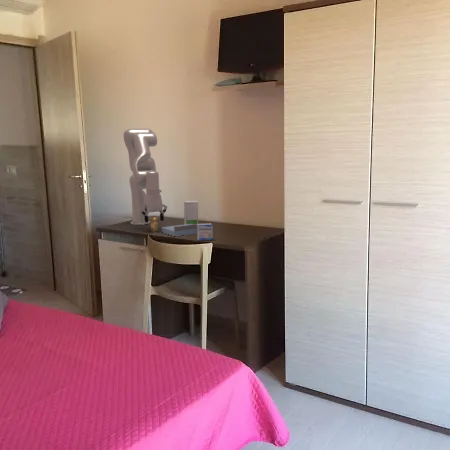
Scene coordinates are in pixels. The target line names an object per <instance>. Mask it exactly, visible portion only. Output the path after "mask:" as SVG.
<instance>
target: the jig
mask: <svg viewBox="0 0 450 450" xmlns="http://www.w3.org/2000/svg"><path fill="white" fill-rule="evenodd" d="M199 224H204V223H202V222H201V223H199ZM162 232H163V233H162ZM161 233H162V234H165V233H166V234H165V235H168V234H169V236H171V235H172V236H171V237H173V236H176V237H183V236H182V235H184V236H189V235H191V236H192V235H197V224H185V225H184V224H178V225H169V226H162V227H161Z"/></svg>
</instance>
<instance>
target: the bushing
mask: <svg viewBox="0 0 450 450" xmlns="http://www.w3.org/2000/svg"><path fill="white" fill-rule="evenodd" d="M148 220H149V221H150V232H151V231H152V233H156V232H155V231H157V232H159V227H158V225H159V224H158V221H159V217H158V216H151V217H148Z"/></svg>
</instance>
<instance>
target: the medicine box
mask: <svg viewBox="0 0 450 450" xmlns="http://www.w3.org/2000/svg"><path fill="white" fill-rule="evenodd" d="M213 229H214V227H213V224H212V223H210V222H209V223H203V224H200V223H198V224H197V234H196V238H197V239H196V240H197V241H199V242H202V240H205V241H213V239H214V236H213V231H214V230H213Z"/></svg>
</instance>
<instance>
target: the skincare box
mask: <svg viewBox="0 0 450 450" xmlns="http://www.w3.org/2000/svg"><path fill="white" fill-rule="evenodd" d="M183 212H184V213H183V218H184V219H183V225H185V224H199V201H198V200H184V201H183Z"/></svg>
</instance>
